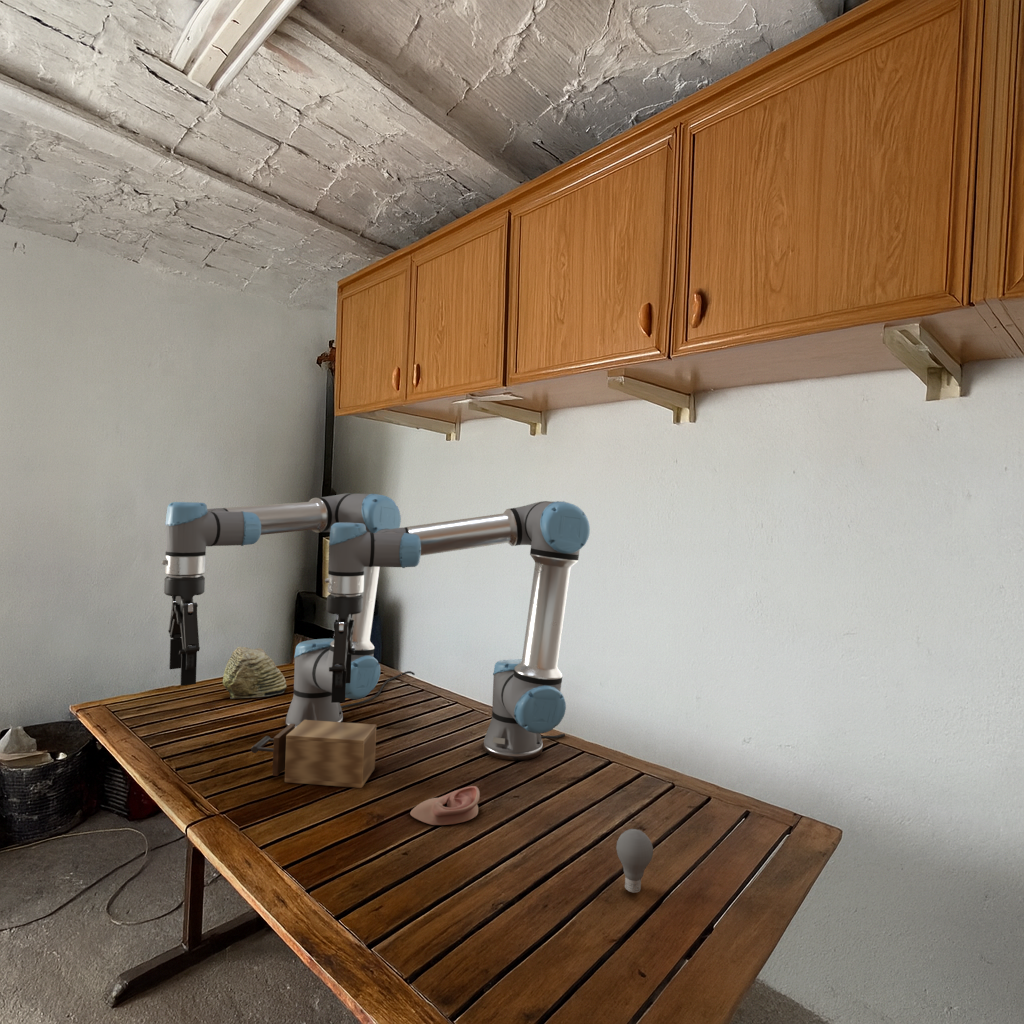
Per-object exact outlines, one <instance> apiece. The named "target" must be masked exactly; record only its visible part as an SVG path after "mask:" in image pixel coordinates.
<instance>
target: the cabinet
mask: <svg viewBox="0 0 1024 1024" xmlns="http://www.w3.org/2000/svg"><path fill="white" fill-rule="evenodd" d="M376 746H377V724H373V723H372V724H371V723H359V722H344V721H343V722H331V721H316V720H304V721H302V722H301V723H300V724H299V725H298V726H297V727H295V728H294V729H293V730H292V731H291V732H290V733H289V734H287V735H286V760H285V769H284V783H290V784H303V785H317V786H327V787H329V786H331V787H343V788H344V787H345V788H357V789H362V788H363V787H364V785H365V784H366V782H367V781H368V779H369V778H370V777H371V775H372V773H373V772H374V771H375V770H376V750H377V749H376V748H377V747H376Z"/></svg>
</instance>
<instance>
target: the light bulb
mask: <svg viewBox="0 0 1024 1024" xmlns="http://www.w3.org/2000/svg"><path fill="white" fill-rule="evenodd" d="M615 849H616V854H617V857H618V859H619V861H620V863H621V865H622V867H623V873H624V874H623V875H624V876H625V878H624V888H625V890H627V891H628V892H630V893H634V894H635V893H639V892H640V891H641V889H642V887H641V886H642V879H643V877H644V875H645V871H646V868H647V867H648V866H649V864H650V863H651V861H652V859H653V855H654V847H653V843H652V841H651V838H649V836H648V835H647V834H646V833H645V832H643V831H642V830H641V829H636V828H629V829H627V830H625V831H623V832H622V833H621V834H620V835H619V837H618V839H617V841H616V847H615Z"/></svg>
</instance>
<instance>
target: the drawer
mask: <svg viewBox="0 0 1024 1024" xmlns="http://www.w3.org/2000/svg"><path fill="white" fill-rule="evenodd" d="M294 728H295V724H289V725H288V726H286V727H285V728H283V729H282V730H280V732H279V733H277V734H276V735H275V736H273V738H271V737H270V736H269V735H265V736H264V737H262V739H260V740H259V741H258V742H256V743H255V744H254V745H252V746H251V748H250V751H251V752H252V753H253V754H257V753H258V752H268V753H269V752H271V753H272V772H271V773H272V774H271V775H272V776H273V777H279V776H280V775H281V774H282V772H284V771H285V760H286V735H287V734H289V733H290V732H291V731H292V730H293V729H294ZM269 743H273V745H272V747H265V746H266V745H267V744H269Z"/></svg>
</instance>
